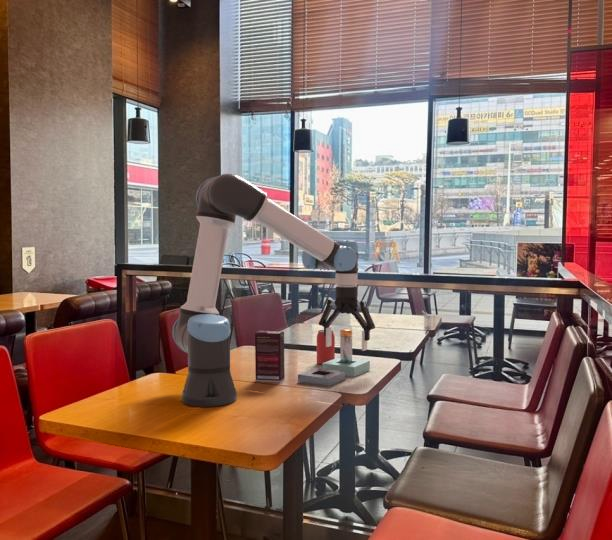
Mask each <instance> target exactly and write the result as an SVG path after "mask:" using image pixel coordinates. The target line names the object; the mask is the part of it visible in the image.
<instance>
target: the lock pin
mask: <svg viewBox="0 0 612 540" xmlns="http://www.w3.org/2000/svg"><path fill="white" fill-rule="evenodd" d="M339 333H340V338H339V339H340V340H339V341H340V342H339V343H340V344H339V345H340V351H339V353H340V356H339V357H340V363H343V364H352V359H353V330H352V329H349V328H348V329H345V328H344V329H340V331H339Z"/></svg>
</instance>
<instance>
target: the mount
mask: <svg viewBox="0 0 612 540" xmlns="http://www.w3.org/2000/svg"><path fill="white" fill-rule="evenodd" d="M345 380H346V376H345V372H343V371H335V370H328V369H322V368H319V367H314V368H311V369H309V370H306V371H304V372H300V373H298V374H297V383H298V384H304V385H311V386H317V387H324V388H330V387H333V386H335V385H337V384H339V383H342V382H344V381H345Z"/></svg>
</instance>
